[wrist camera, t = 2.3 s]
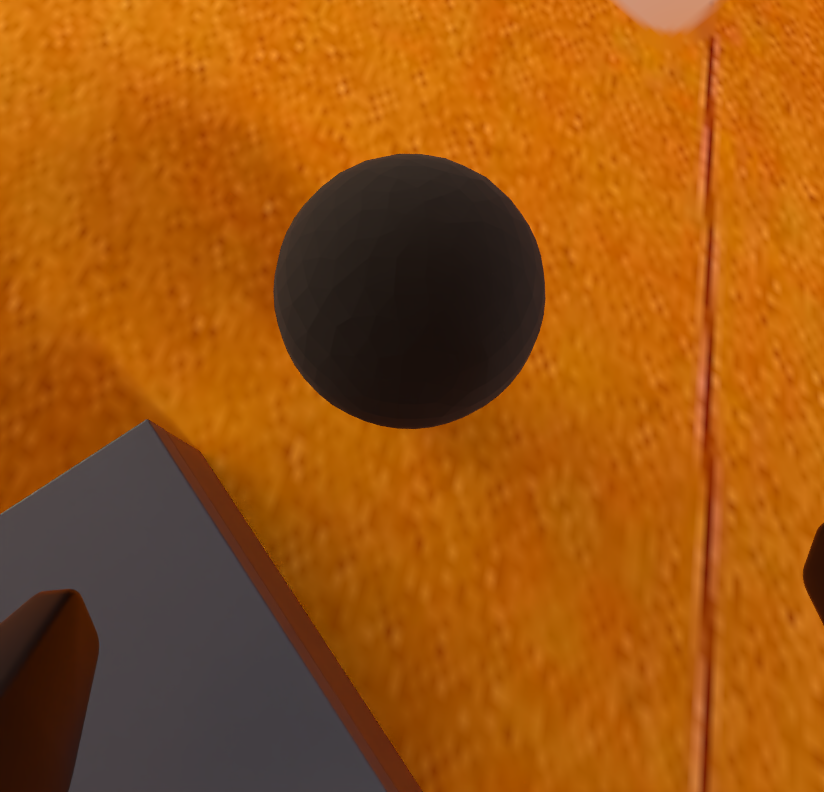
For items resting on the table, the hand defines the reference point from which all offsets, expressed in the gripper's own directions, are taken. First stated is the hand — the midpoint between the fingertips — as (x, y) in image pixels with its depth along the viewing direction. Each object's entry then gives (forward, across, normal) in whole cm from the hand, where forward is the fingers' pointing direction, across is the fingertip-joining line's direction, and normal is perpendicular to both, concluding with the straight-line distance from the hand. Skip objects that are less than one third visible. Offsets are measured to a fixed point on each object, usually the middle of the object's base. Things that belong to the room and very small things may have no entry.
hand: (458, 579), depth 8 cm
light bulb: (+13, 0, +5) cm, 14 cm away
